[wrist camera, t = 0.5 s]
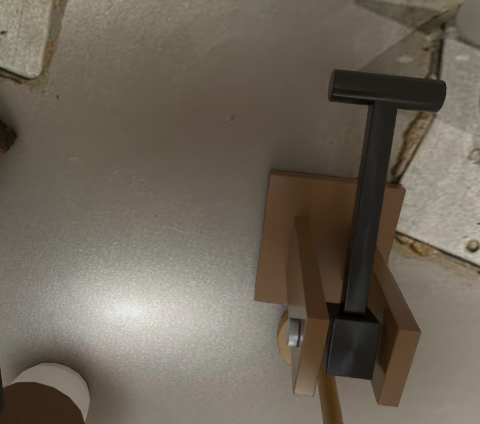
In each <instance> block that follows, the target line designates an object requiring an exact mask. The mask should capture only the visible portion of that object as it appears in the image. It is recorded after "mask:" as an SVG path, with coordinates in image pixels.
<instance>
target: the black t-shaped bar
mask: <svg viewBox="0 0 480 424" xmlns="http://www.w3.org/2000/svg"><path fill="white" fill-rule="evenodd" d="M445 97H446V83H445V82H444V81H442V80H433V79H424V78H414V77H405V76H395V75H386V74H377V73H367V72H358V71H348V70H339V69H334V70H333V72H332V74H331V78H330V82H329V89H328V100H329V101H330V102H339V103H348V104H358V105H367V106H369V107H368V114H367V121H366V128H365V135H364V142H363V148H362V155H361V162H360V169H359V176H358V183H357V190H356V196H355V203H354V210H353V217H352V224H351V231H350V238H349V244H348V251H347V258H346V265H345V272H344V279H343V286H342V292H341V299H340V303H333V302H326V305H327V310H328V315H329V320H330V322H329V327H328V332H327V336H326V341H325V346H324V350H323V355H322V363H323V366H324V369H325V372H326V374H327V375H335V376H343V377H351V378H359V379H367V380H372V378H373V372H374V365H375V359H376V353H377V347H378V340H379V334H380V328H381V324H380V322H379V321H378V320H377V318H376V317H375V316H374V314H373V313H372V312H371V310H370V309H369V308H368V307H367V303H368V297H369V290H370V284H371V277H372V271H373V264H374V258H375V251H376V245H377V238H378V232H379V225H380V219H381V213H382V206H383V200H384V193H385V187H386V180H387V174H388V167H389V161H390V154H391V148H392V141H393V135H394V128H395V122H396V115H397V109H404V110H413V111H422V112H431V113H436V112H438V111H439V110H440V109H441V107H442V106H443V103H444V100H445Z"/></svg>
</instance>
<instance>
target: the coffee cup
mask: <svg viewBox="0 0 480 424" xmlns="http://www.w3.org/2000/svg"><path fill="white" fill-rule="evenodd" d="M3 394H4V403H5V408H4V410H3V411H2V412H1V414H0V424H85V419H86V416H87V412H88V408H89V404H90V394H89V390H88V387H87V383H86V382H85V381H84V379H83V378H82V377H81V376H80V375H79V373H77V372H75V371H74V370H72V369H71V368H69V367H68V366H64V365H61V364H57V363H41V364H38V365H36V366H34V367H31V368H29V369H27V370H25V371H23V372H22V373H21V374H20V375H19V376H18V377H17V378H16V379H14V380H13V381H12V382H11V383H10V384H9V385H8V386H6V387H4V388H3Z"/></svg>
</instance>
